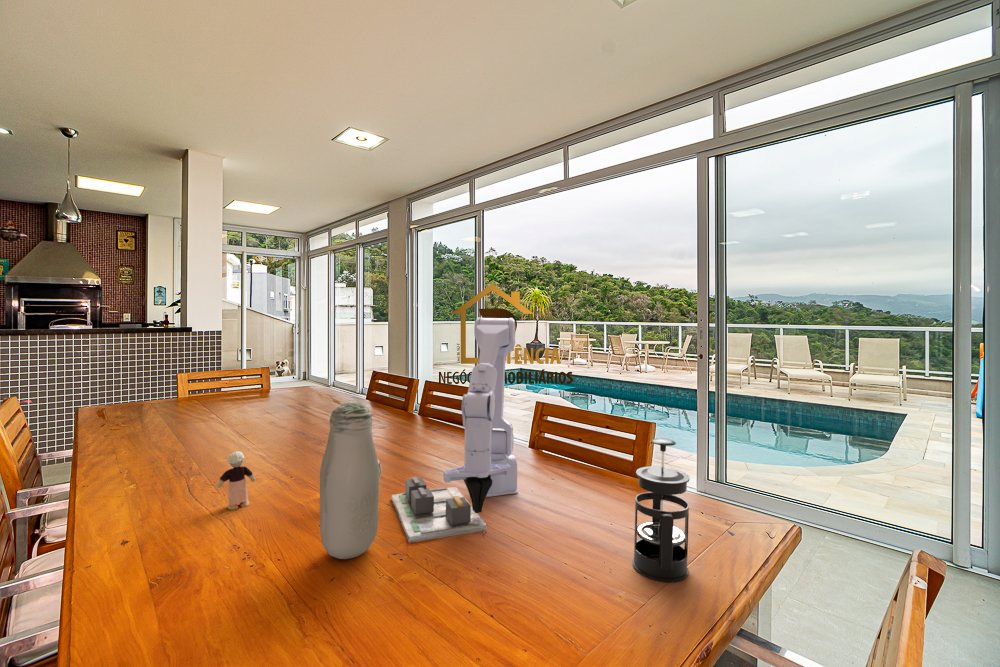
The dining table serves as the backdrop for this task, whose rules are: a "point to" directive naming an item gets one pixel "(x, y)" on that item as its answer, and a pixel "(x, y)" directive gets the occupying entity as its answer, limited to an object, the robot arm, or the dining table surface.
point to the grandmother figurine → (236, 481)
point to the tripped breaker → (458, 510)
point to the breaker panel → (434, 518)
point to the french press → (661, 522)
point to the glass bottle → (349, 483)
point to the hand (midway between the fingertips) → (477, 511)
